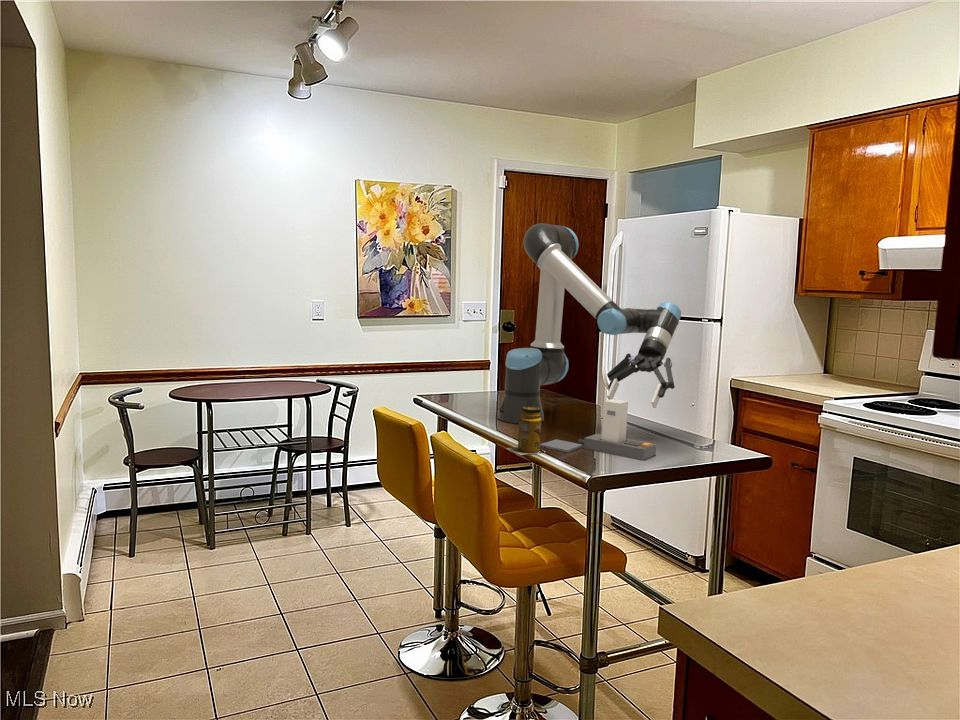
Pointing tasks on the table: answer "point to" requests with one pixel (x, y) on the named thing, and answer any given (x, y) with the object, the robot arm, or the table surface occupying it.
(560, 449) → the mat
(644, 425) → the table surface
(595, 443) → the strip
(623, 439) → the block
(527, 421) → the condiment
